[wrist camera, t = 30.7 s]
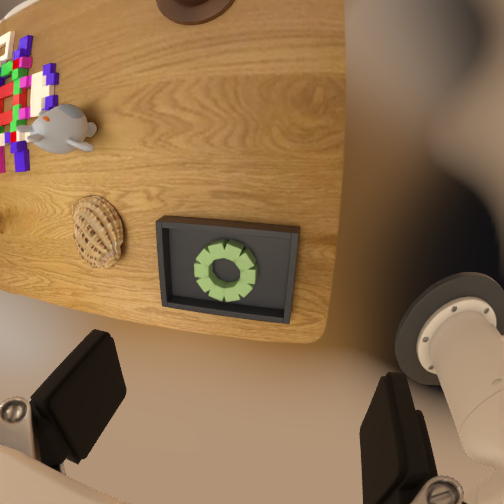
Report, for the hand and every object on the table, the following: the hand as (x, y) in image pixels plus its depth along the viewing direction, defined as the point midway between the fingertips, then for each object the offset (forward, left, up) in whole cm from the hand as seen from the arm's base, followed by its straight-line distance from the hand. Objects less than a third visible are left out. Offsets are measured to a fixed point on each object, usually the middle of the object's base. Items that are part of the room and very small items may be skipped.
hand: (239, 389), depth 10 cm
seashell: (+25, +5, -28) cm, 38 cm away
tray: (+7, +8, -28) cm, 30 cm away
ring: (+7, +8, -28) cm, 30 cm away
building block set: (+43, -16, -28) cm, 54 cm away
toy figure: (+27, -9, -28) cm, 40 cm away
